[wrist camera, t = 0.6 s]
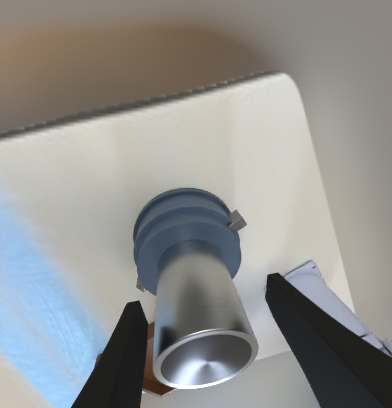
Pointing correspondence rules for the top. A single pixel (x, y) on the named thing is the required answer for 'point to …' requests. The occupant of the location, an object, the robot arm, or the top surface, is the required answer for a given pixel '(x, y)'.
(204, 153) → the top surface
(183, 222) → the lidded cooking pot
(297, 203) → the top surface
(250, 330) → the cup
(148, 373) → the tray
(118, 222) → the top surface
